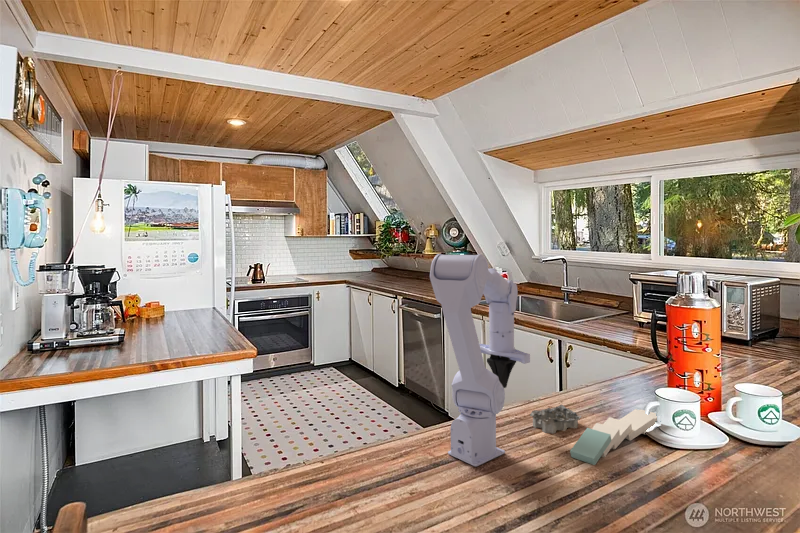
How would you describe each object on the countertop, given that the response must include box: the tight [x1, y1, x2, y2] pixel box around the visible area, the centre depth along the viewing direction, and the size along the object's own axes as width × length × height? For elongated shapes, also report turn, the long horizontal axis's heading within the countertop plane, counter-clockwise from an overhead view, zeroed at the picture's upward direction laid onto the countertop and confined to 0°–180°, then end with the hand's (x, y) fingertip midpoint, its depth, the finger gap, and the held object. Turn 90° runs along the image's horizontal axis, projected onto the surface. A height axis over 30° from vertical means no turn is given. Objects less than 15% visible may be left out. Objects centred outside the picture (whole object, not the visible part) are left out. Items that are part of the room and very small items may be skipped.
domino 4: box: [619, 408, 655, 442], centre depth 111 cm, size 2×5×8 cm
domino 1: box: [569, 427, 611, 466], centre depth 101 cm, size 2×5×8 cm
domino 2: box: [591, 422, 620, 458], centre depth 104 cm, size 2×5×8 cm
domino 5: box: [638, 408, 657, 421], centre depth 116 cm, size 2×5×8 cm
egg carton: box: [529, 404, 582, 434], centre depth 117 cm, size 11×8×4 cm
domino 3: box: [602, 416, 632, 450], centre depth 108 cm, size 2×5×8 cm
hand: (501, 387), depth 115 cm, fingers closed
